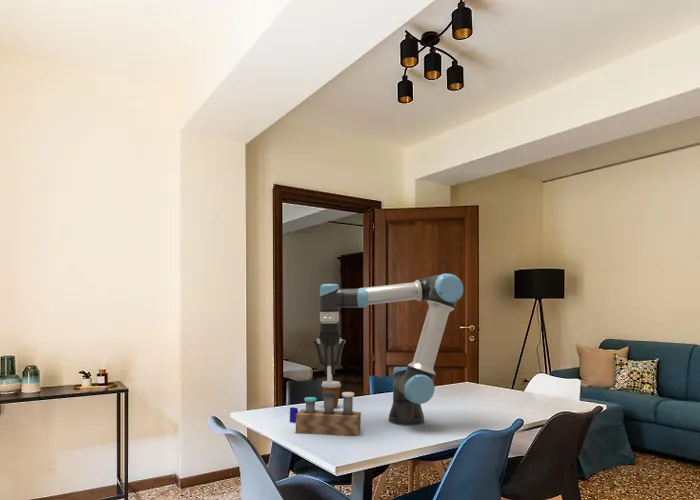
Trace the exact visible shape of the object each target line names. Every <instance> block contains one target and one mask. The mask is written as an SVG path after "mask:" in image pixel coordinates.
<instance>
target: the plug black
mask: <svg viewBox="0 0 700 500" xmlns="http://www.w3.org/2000/svg"><path fill="white" fill-rule="evenodd" d="M323 396H325V405H324V404H323V407H324V409H323V410H324V414H333V413H334V411H335V410H334V396H335V392H334V391H325V392H323V391H322V397H323Z"/></svg>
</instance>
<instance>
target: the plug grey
mask: <svg viewBox="0 0 700 500" xmlns="http://www.w3.org/2000/svg"><path fill="white" fill-rule="evenodd" d="M341 397H343V401H342V405H343V407H342V409H343V410H342V411H343V415H352V411H353V407H354V406H353V403H354V402H353V399H354V398H355V392H352V391H343V392H342V393H341Z"/></svg>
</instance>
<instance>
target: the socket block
mask: <svg viewBox="0 0 700 500" xmlns="http://www.w3.org/2000/svg"><path fill="white" fill-rule="evenodd" d="M361 412H362V411H353V410H352V415H343V410H334V413H333V414H324V409H315V414H313V413H306V408H303V409H301V410H298V413H297V414H296V423H295V434H308V435H309V434H311V435H329V436H331V435H332V436H346V437H347V436H349V437H359V433H360V432H361V429H362V427H361V423H362V422H361V420H362V417H361V416H362V414H361Z"/></svg>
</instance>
